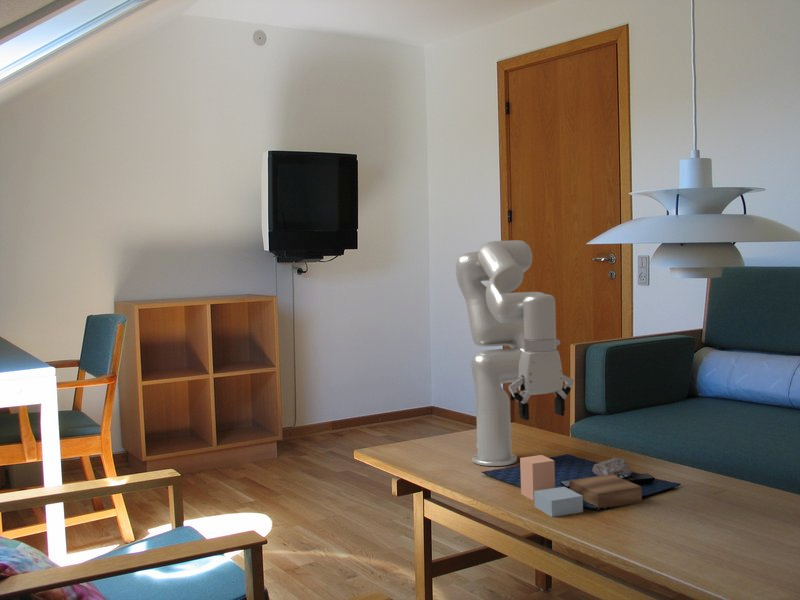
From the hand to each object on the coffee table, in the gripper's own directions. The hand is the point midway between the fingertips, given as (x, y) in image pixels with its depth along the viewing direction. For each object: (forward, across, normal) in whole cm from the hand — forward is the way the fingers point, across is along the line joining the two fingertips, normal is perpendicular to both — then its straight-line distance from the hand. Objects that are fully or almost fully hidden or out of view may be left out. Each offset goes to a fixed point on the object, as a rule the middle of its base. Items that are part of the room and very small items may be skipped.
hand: (542, 416), depth 193 cm
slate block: (+20, +2, +9) cm, 22 cm away
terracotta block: (+20, +1, -2) cm, 20 cm away
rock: (+20, -25, -8) cm, 33 cm away
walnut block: (+20, -12, +7) cm, 25 cm away
